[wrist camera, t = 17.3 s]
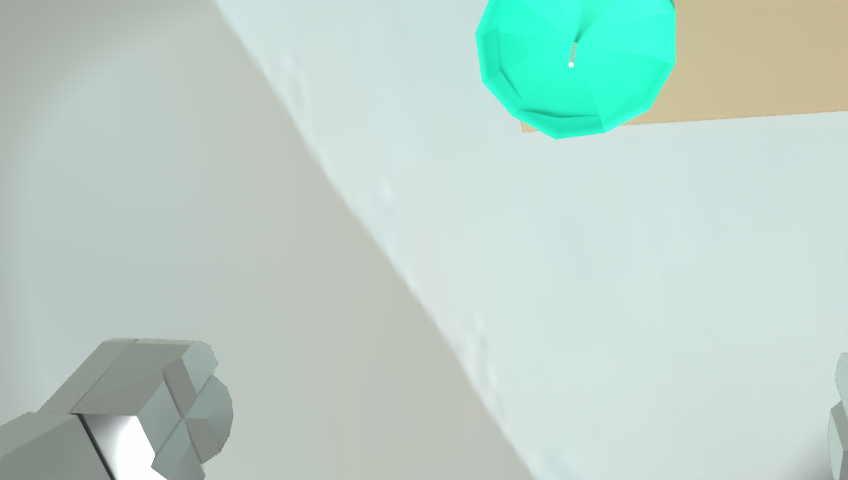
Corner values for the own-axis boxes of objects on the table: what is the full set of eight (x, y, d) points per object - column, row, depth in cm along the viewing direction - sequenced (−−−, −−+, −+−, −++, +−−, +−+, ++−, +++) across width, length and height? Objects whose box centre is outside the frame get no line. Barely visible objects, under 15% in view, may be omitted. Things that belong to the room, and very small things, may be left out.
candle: (493, -69, 31) (433, 3, 21) (637, -133, 29) (647, -86, 19) (542, 64, 33) (510, 185, 23) (679, 15, 31) (708, 125, 21)
